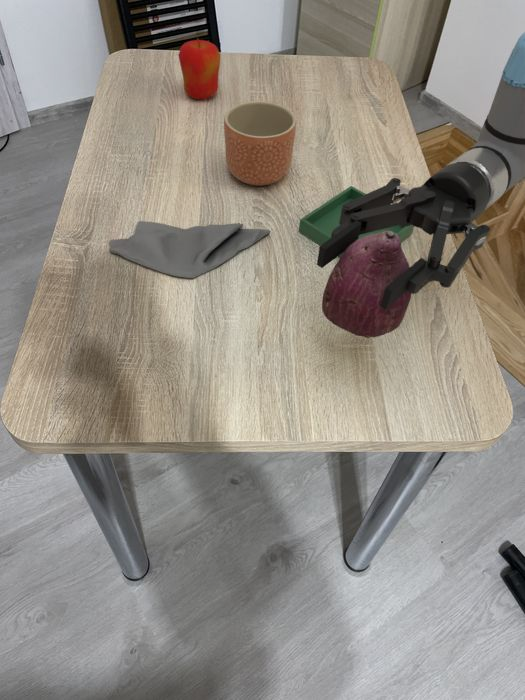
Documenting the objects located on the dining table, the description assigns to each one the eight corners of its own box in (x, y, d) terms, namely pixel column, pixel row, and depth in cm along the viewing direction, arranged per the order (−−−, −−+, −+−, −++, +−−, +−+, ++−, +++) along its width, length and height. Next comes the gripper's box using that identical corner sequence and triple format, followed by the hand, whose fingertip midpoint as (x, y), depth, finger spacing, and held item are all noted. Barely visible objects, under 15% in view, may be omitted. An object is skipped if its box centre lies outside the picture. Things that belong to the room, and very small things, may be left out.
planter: (291, 157, 104) (296, 101, 96) (291, 196, 96) (296, 139, 88) (227, 153, 104) (226, 98, 95) (222, 192, 96) (221, 135, 88)
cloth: (100, 277, 82) (97, 266, 80) (115, 219, 90) (113, 208, 89) (271, 281, 83) (271, 271, 81) (269, 224, 91) (270, 213, 90)
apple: (197, 109, 114) (194, 50, 105) (173, 93, 118) (168, 35, 108) (228, 97, 118) (228, 39, 108) (204, 82, 121) (202, 25, 112)
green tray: (412, 234, 91) (416, 221, 89) (363, 272, 85) (366, 260, 83) (348, 197, 97) (351, 185, 95) (298, 231, 91) (300, 219, 88)
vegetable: (395, 356, 65) (450, 297, 51) (312, 335, 65) (346, 271, 51) (404, 282, 69) (457, 210, 56) (326, 263, 69) (360, 185, 55)
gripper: (526, 253, 67) (425, 354, 56) (388, 180, 75) (278, 256, 64) (554, 202, 61) (447, 305, 50) (401, 129, 69) (282, 203, 58)
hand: (352, 277), depth 57 cm, fingers closed on vegetable, 8 cm apart
